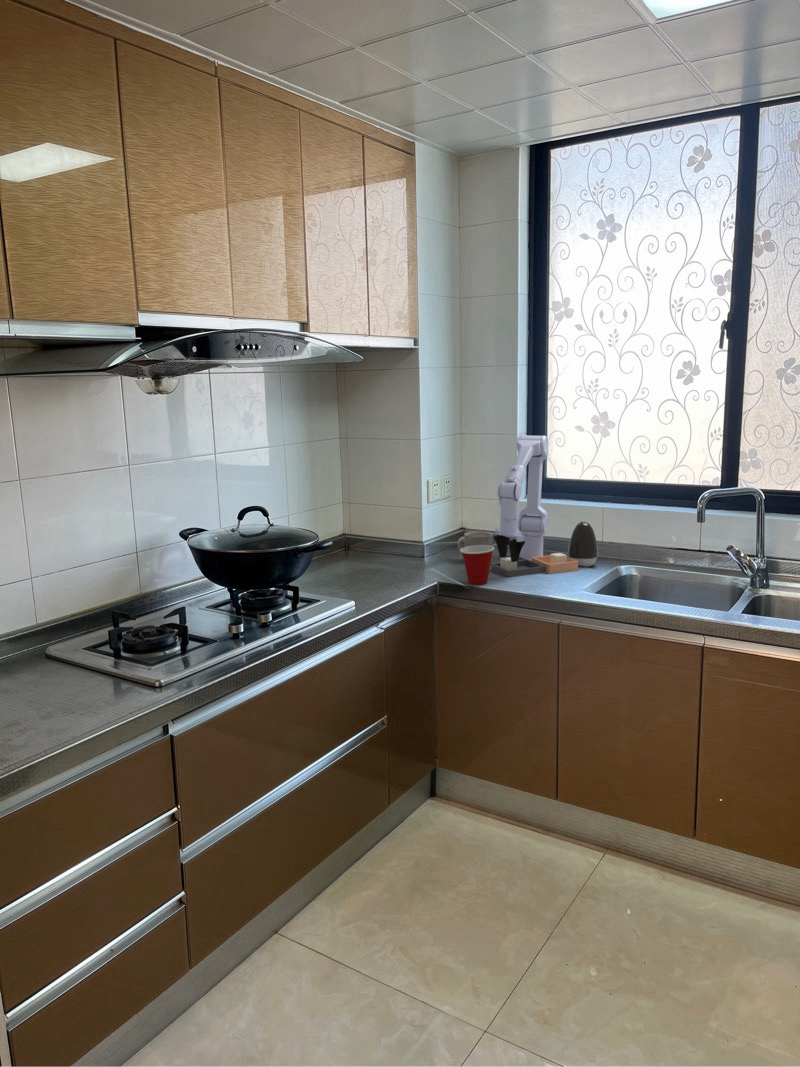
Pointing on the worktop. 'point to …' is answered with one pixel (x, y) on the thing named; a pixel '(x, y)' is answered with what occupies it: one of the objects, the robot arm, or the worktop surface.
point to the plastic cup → (477, 563)
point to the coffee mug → (476, 539)
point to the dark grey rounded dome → (583, 545)
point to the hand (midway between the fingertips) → (508, 559)
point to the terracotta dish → (558, 567)
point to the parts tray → (520, 568)
